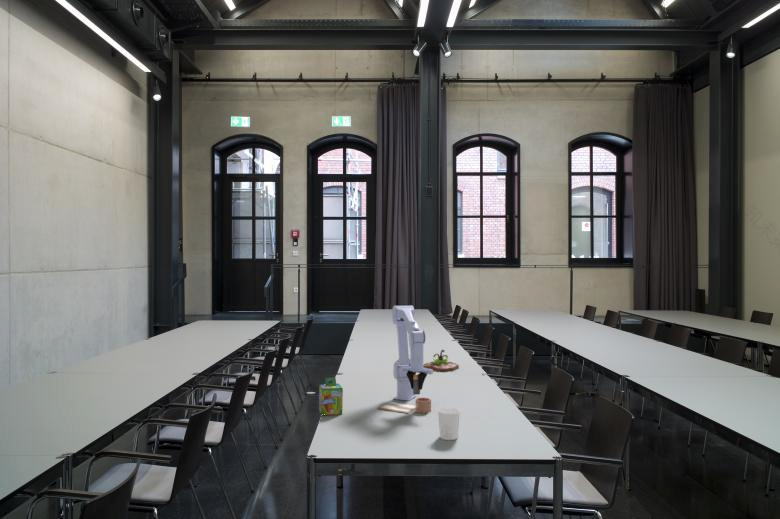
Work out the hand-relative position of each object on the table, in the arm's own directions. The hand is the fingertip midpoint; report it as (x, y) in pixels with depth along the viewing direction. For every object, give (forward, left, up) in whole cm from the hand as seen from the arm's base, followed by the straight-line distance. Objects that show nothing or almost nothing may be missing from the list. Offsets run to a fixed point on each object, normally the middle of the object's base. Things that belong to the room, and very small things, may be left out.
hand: (416, 389), depth 239 cm
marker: (0, 0, -2) cm, 2 cm away
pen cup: (-1, +3, -10) cm, 10 cm away
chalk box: (+20, -32, -10) cm, 39 cm away
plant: (-89, -24, -10) cm, 92 cm away
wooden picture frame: (0, -9, -10) cm, 13 cm away
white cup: (+26, +25, -10) cm, 38 cm away
